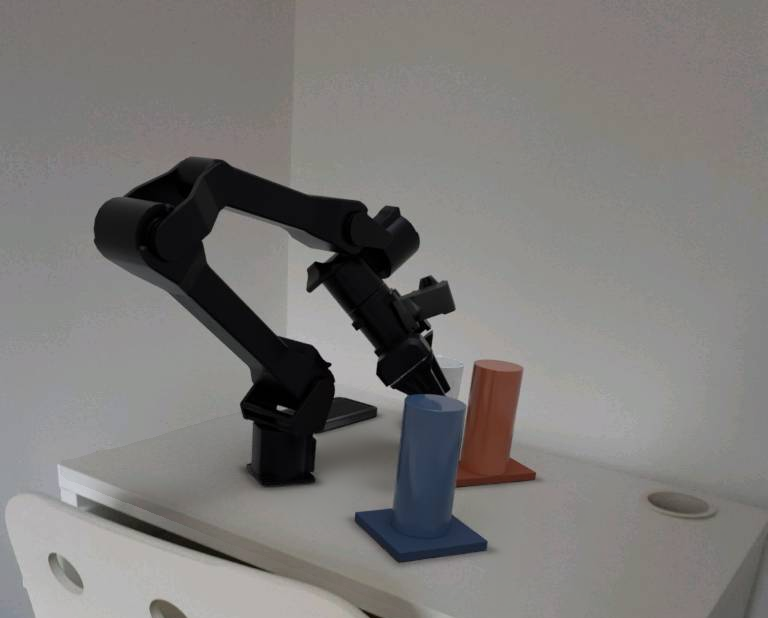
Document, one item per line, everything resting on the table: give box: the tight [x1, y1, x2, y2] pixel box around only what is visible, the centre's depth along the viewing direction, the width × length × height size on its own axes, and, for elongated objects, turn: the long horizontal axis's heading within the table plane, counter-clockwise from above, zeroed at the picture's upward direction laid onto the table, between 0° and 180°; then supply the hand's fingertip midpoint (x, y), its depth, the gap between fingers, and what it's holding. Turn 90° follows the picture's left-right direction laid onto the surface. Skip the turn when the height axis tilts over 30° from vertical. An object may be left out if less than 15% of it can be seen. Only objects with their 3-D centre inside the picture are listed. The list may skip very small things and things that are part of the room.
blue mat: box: [354, 507, 489, 563], centre depth 83 cm, size 10×10×1 cm
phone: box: [280, 396, 379, 433], centre depth 118 cm, size 8×1×15 cm
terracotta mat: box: [455, 456, 537, 488], centre depth 102 cm, size 12×6×1 cm, turn 117°
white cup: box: [406, 354, 465, 400], centre depth 117 cm, size 8×8×10 cm
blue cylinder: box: [391, 394, 468, 538], centre depth 80 cm, size 6×6×13 cm
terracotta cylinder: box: [459, 359, 525, 476], centre depth 99 cm, size 6×6×13 cm
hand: (448, 400), depth 98 cm, fingers open, 9 cm apart
